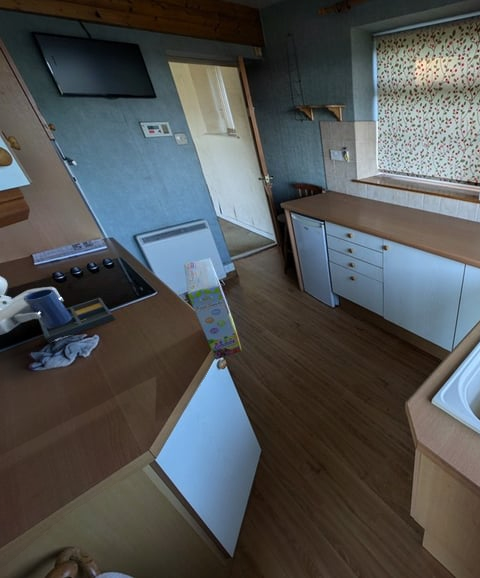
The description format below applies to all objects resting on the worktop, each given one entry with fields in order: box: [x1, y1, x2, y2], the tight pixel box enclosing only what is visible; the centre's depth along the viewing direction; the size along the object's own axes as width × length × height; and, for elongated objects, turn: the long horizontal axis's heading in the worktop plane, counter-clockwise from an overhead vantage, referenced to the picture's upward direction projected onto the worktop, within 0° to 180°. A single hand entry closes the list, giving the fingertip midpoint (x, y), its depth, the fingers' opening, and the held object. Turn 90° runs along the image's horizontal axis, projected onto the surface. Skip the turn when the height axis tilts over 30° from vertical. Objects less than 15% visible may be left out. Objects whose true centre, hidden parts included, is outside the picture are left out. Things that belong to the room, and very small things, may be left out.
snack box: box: [183, 257, 243, 360], centre depth 95 cm, size 22×9×26 cm, turn 33°
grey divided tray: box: [38, 297, 116, 344], centre depth 108 cm, size 18×18×3 cm
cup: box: [23, 289, 72, 328], centre depth 87 cm, size 6×6×10 cm
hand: (51, 307), depth 87 cm, fingers closed on cup, 6 cm apart
